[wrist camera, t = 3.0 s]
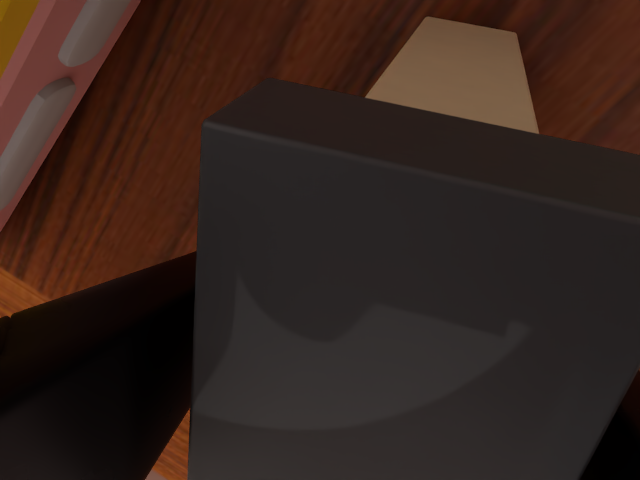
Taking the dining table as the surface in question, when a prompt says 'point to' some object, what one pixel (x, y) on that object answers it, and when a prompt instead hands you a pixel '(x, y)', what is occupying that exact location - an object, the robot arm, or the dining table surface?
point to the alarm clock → (47, 77)
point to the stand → (460, 75)
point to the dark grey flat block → (406, 294)
